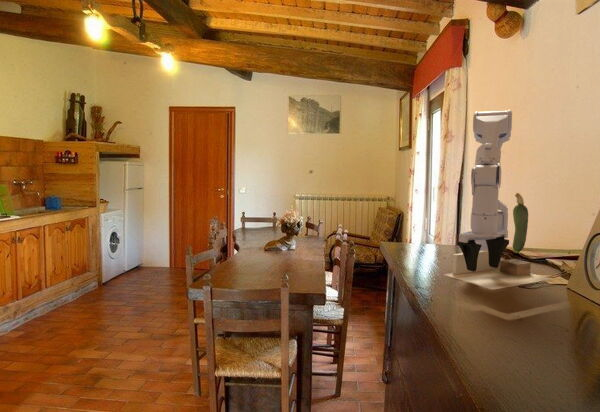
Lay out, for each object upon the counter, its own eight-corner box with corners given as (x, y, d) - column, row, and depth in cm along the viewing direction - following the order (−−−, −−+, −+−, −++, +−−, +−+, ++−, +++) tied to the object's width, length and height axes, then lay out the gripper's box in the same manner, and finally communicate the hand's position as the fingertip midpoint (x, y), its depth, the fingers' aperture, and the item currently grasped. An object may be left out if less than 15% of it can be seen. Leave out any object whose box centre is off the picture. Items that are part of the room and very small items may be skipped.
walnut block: (499, 271, 110) (500, 260, 110) (512, 269, 112) (513, 258, 112) (516, 276, 106) (517, 264, 105) (530, 274, 108) (530, 262, 107)
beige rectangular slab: (452, 273, 109) (453, 254, 108) (496, 266, 116) (496, 248, 115) (456, 274, 108) (456, 255, 107) (500, 267, 114) (500, 249, 114)
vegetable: (525, 253, 139) (528, 192, 137) (527, 255, 134) (530, 193, 133) (510, 252, 140) (512, 192, 138) (512, 254, 136) (514, 193, 134)
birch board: (443, 278, 108) (443, 274, 108) (500, 269, 117) (500, 265, 117) (491, 294, 94) (492, 289, 94) (552, 282, 103) (553, 278, 103)
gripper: (476, 217, 96) (474, 276, 97) (519, 214, 102) (517, 269, 103) (452, 214, 102) (451, 269, 104) (495, 211, 108) (493, 263, 110)
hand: (482, 268), depth 104 cm, fingers open, 7 cm apart
